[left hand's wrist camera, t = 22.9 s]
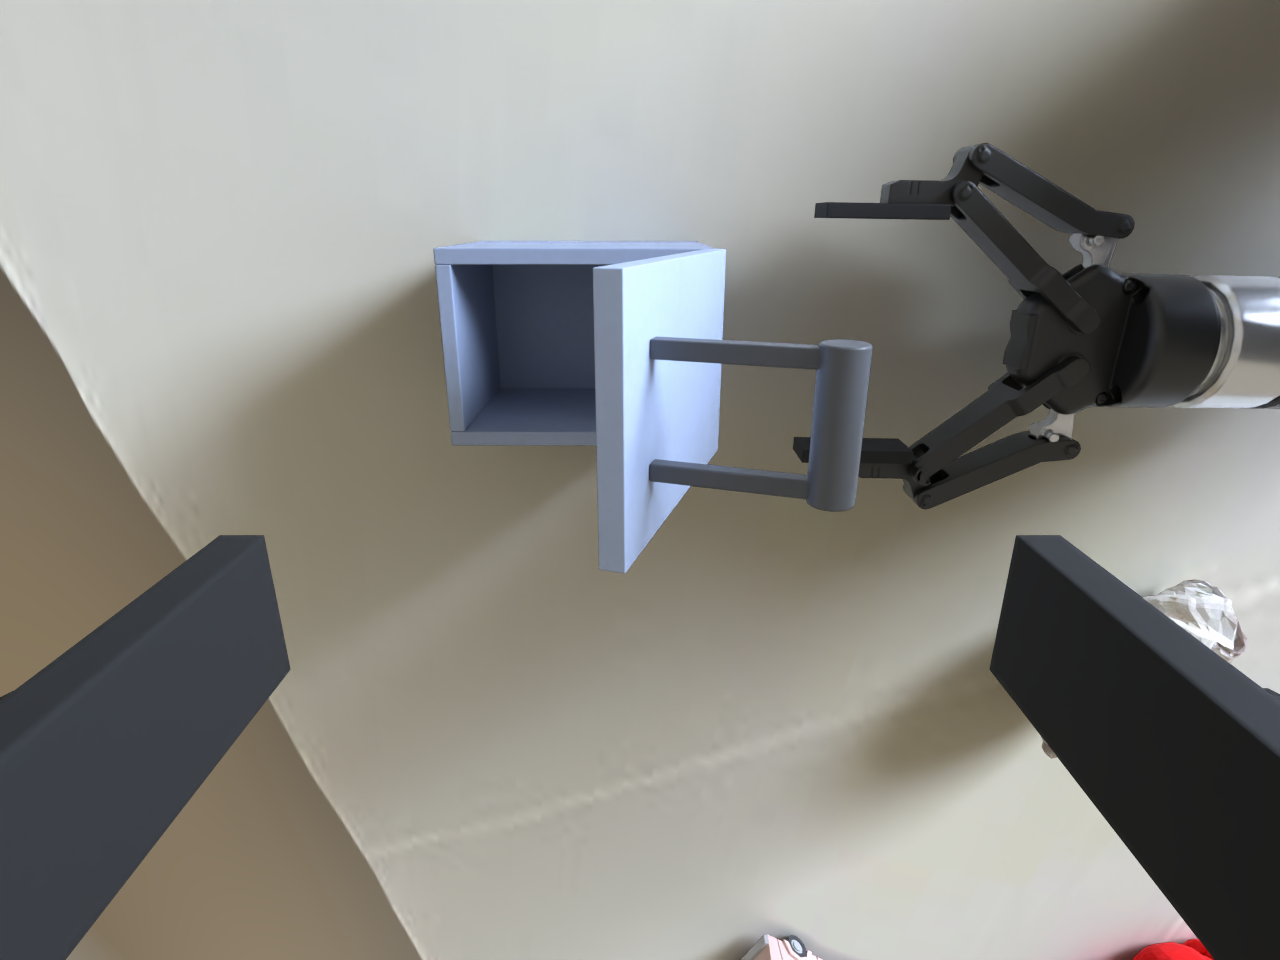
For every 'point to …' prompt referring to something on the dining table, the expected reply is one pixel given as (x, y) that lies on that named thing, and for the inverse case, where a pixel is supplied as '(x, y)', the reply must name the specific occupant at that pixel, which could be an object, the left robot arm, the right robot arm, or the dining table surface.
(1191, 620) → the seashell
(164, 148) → the dining table surface
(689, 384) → the lid
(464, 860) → the dining table surface
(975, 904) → the dining table surface
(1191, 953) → the decorative ring
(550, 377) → the chest
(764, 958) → the toy car
